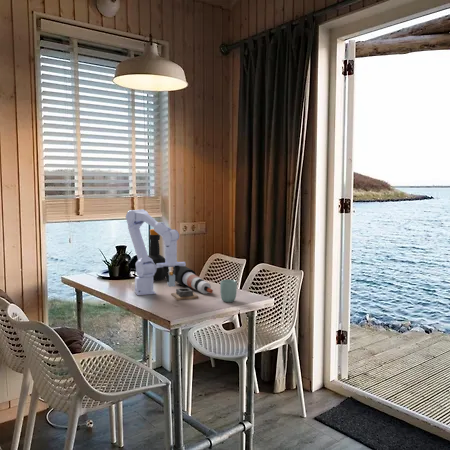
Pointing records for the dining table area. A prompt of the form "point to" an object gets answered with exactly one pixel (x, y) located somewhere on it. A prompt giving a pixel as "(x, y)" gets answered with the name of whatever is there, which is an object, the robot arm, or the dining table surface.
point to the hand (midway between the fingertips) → (171, 281)
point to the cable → (192, 280)
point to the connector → (171, 280)
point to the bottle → (156, 254)
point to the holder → (184, 294)
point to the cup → (228, 290)
